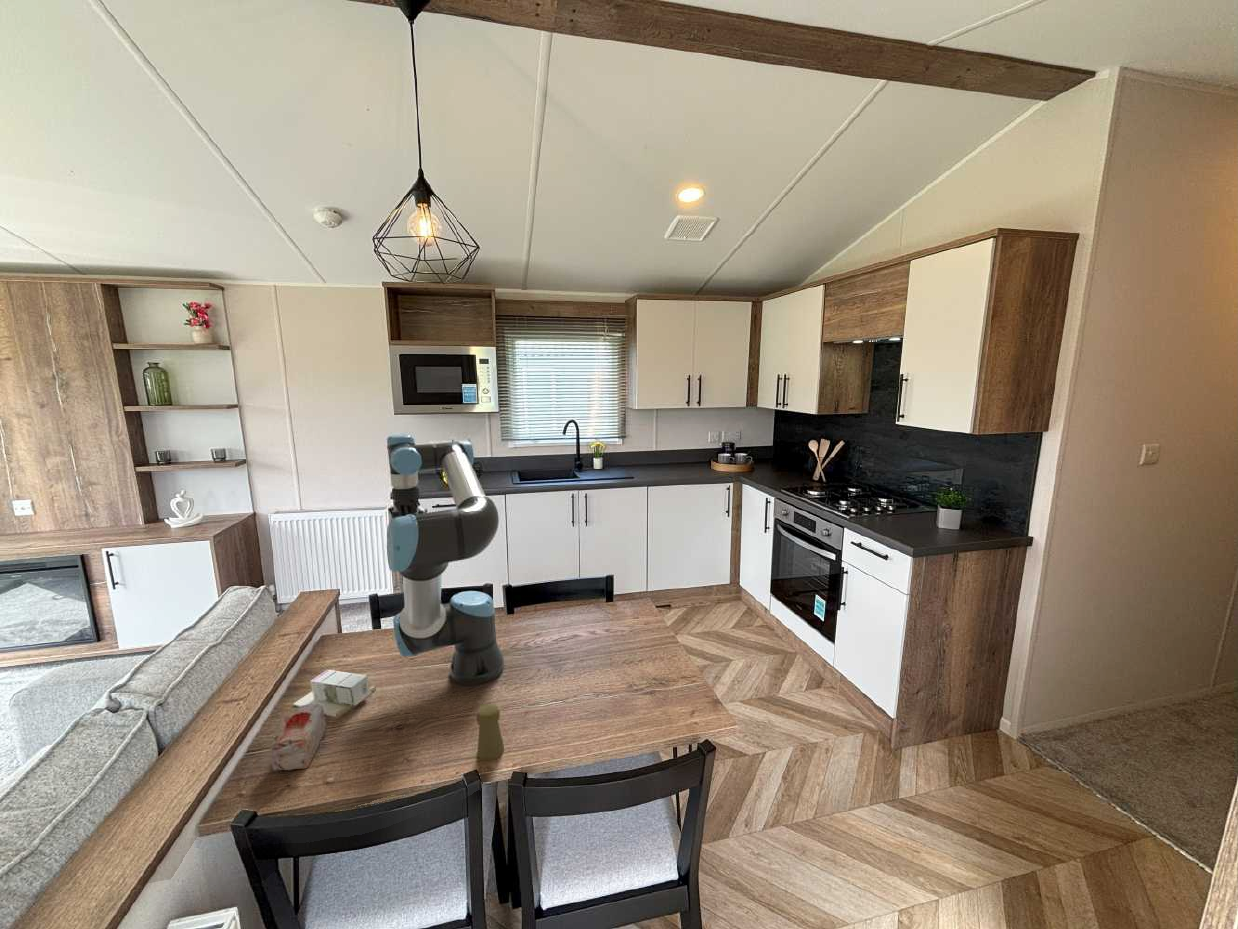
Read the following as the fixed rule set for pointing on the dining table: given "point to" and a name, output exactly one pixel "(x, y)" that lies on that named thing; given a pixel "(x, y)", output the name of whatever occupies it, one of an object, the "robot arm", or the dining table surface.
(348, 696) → the syrup box
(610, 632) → the dining table surface
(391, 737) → the dining table surface
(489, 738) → the olive green shaker
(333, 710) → the trivet
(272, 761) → the food item
